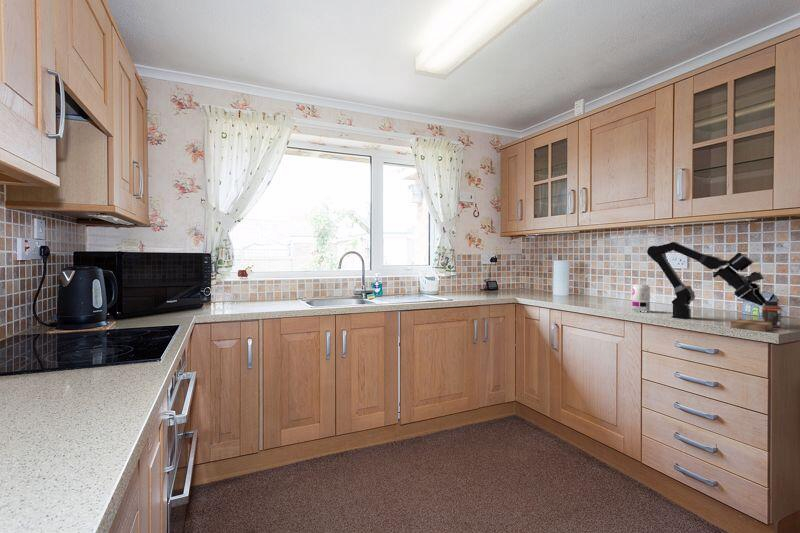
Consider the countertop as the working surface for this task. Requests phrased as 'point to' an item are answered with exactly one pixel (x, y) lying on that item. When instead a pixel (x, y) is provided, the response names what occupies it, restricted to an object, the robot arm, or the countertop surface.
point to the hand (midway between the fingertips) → (764, 304)
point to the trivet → (751, 325)
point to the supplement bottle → (771, 313)
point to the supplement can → (641, 297)
